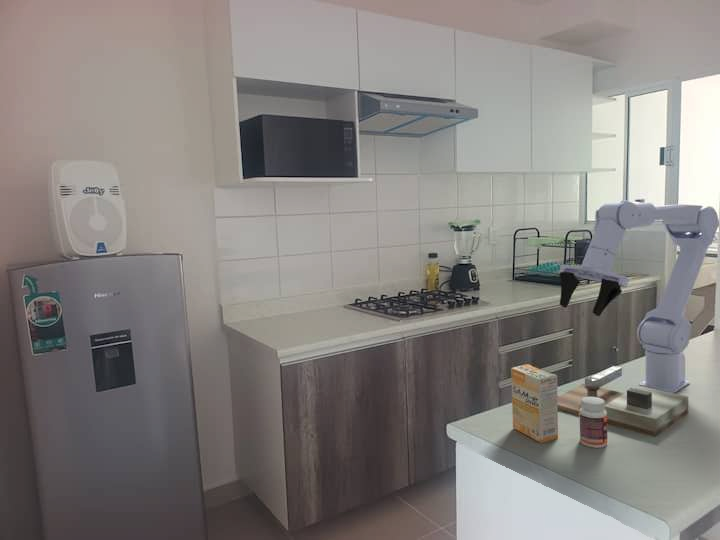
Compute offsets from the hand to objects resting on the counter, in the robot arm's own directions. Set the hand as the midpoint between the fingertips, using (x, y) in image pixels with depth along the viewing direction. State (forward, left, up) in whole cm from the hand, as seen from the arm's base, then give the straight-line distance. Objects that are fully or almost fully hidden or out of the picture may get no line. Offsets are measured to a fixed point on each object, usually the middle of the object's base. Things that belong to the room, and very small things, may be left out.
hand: (578, 310), depth 110 cm
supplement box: (+17, 0, -23) cm, 28 cm away
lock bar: (-9, +1, -18) cm, 20 cm away
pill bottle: (+13, +10, -23) cm, 28 cm away
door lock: (-5, +5, -22) cm, 23 cm away
